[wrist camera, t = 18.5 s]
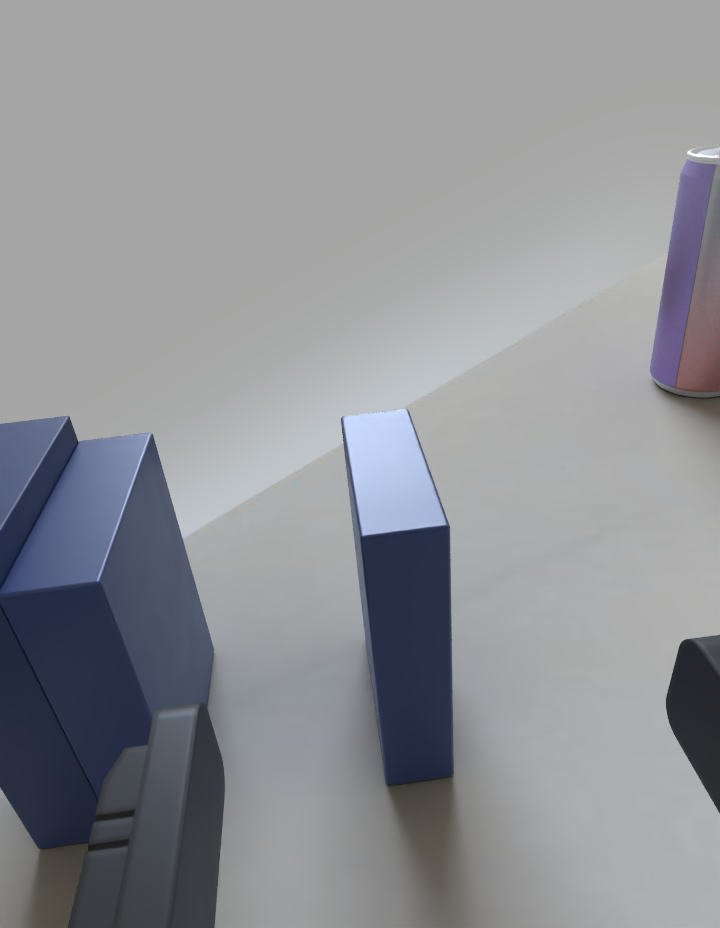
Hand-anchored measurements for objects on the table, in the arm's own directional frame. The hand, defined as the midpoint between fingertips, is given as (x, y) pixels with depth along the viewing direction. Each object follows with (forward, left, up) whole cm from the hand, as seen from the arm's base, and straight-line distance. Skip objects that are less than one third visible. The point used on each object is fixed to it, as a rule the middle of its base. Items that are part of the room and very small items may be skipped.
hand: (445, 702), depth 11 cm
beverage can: (+40, -12, -13) cm, 43 cm away
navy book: (+9, +3, -12) cm, 16 cm away
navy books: (+6, +13, -12) cm, 19 cm away
